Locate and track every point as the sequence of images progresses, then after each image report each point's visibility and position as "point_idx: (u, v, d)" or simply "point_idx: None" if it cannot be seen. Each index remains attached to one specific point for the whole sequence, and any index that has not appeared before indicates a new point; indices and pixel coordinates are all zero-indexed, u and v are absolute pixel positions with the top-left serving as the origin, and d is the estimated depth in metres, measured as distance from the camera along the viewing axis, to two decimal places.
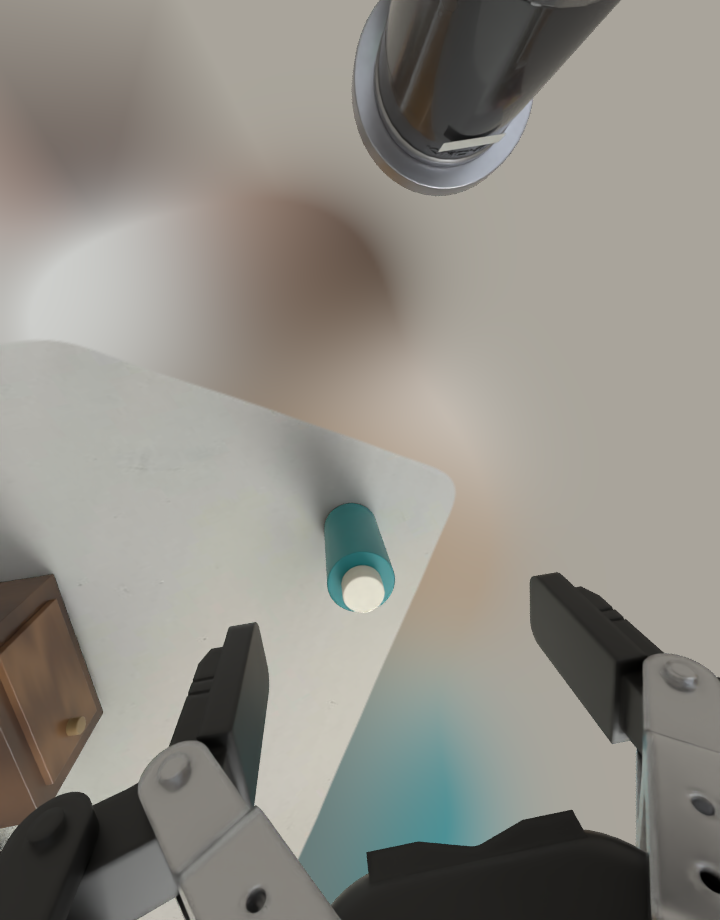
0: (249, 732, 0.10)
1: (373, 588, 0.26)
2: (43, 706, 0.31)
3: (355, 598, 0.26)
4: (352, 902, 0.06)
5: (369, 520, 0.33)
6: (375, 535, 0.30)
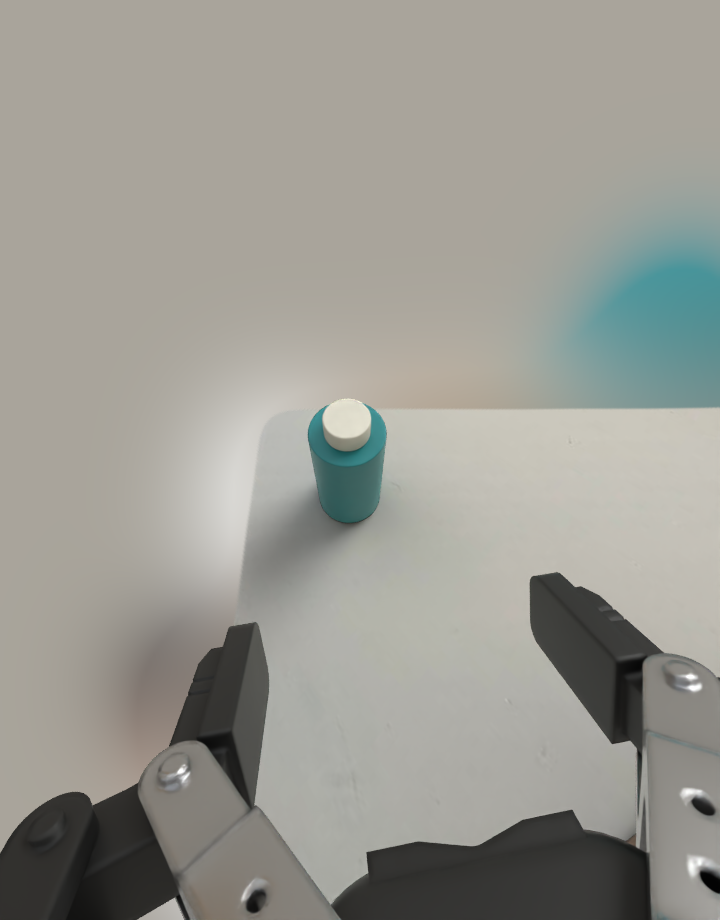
0: (249, 732, 0.10)
1: (335, 411, 0.23)
2: None
3: (353, 424, 0.23)
4: (352, 902, 0.06)
5: None
6: None
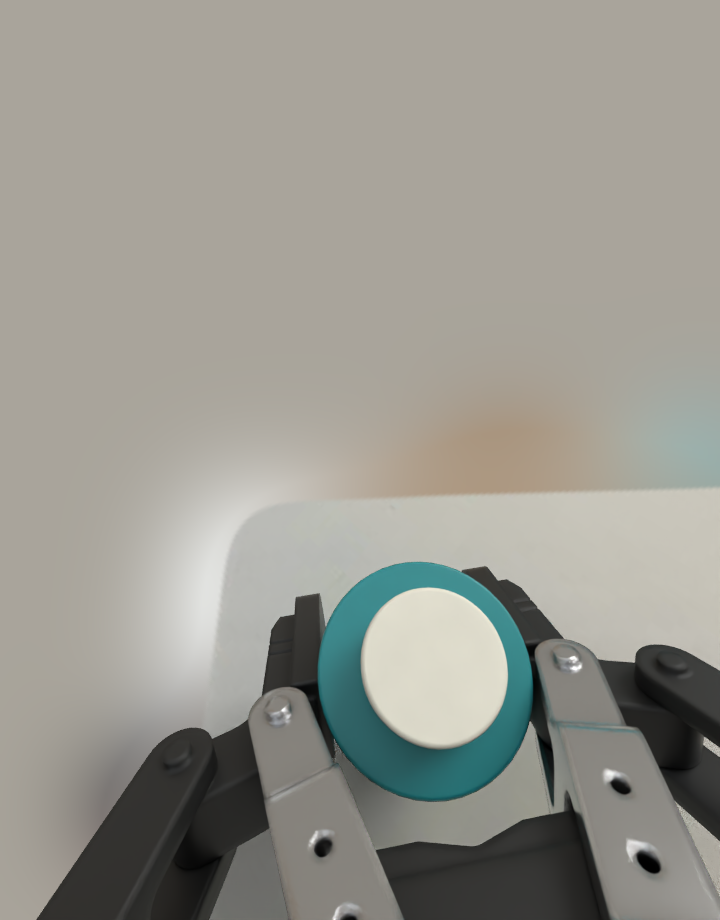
0: None
1: (398, 637, 0.08)
2: None
3: (458, 687, 0.07)
4: None
5: None
6: None
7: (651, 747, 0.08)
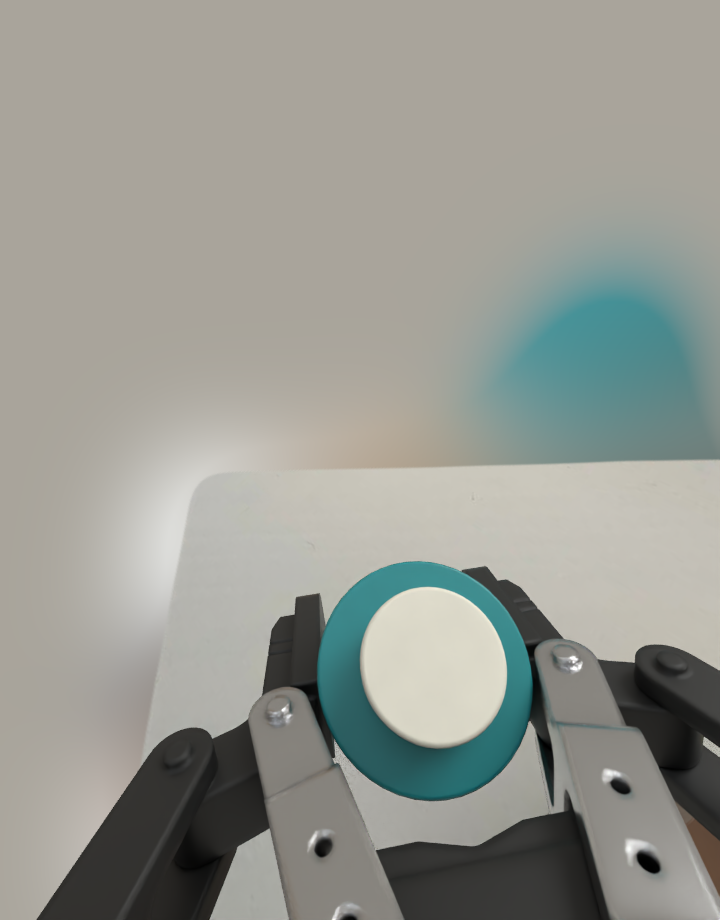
0: None
1: (397, 636, 0.08)
2: None
3: (458, 686, 0.07)
4: None
5: None
6: None
7: (651, 747, 0.08)
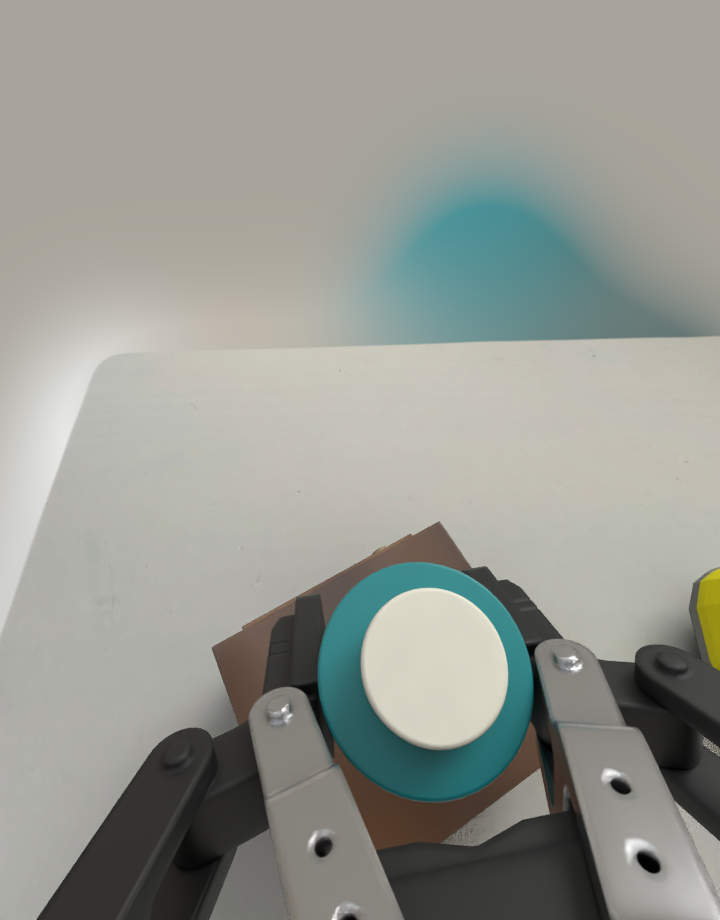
0: None
1: (398, 637, 0.08)
2: None
3: (459, 687, 0.07)
4: None
5: None
6: None
7: (651, 747, 0.08)
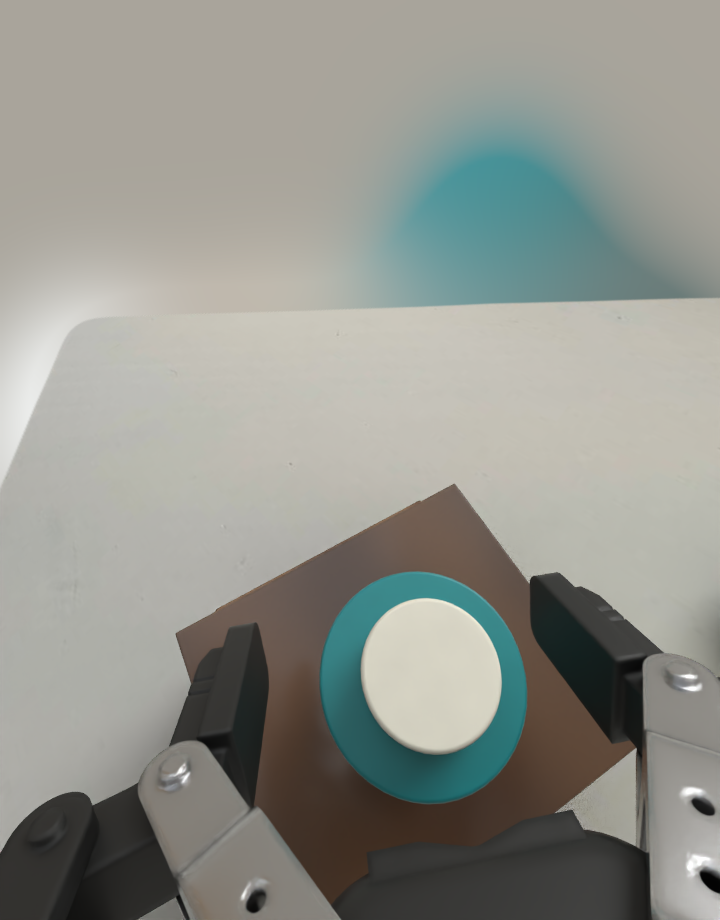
0: (249, 732, 0.10)
1: (397, 646, 0.08)
2: None
3: (454, 694, 0.08)
4: (352, 902, 0.06)
5: None
6: None
7: None
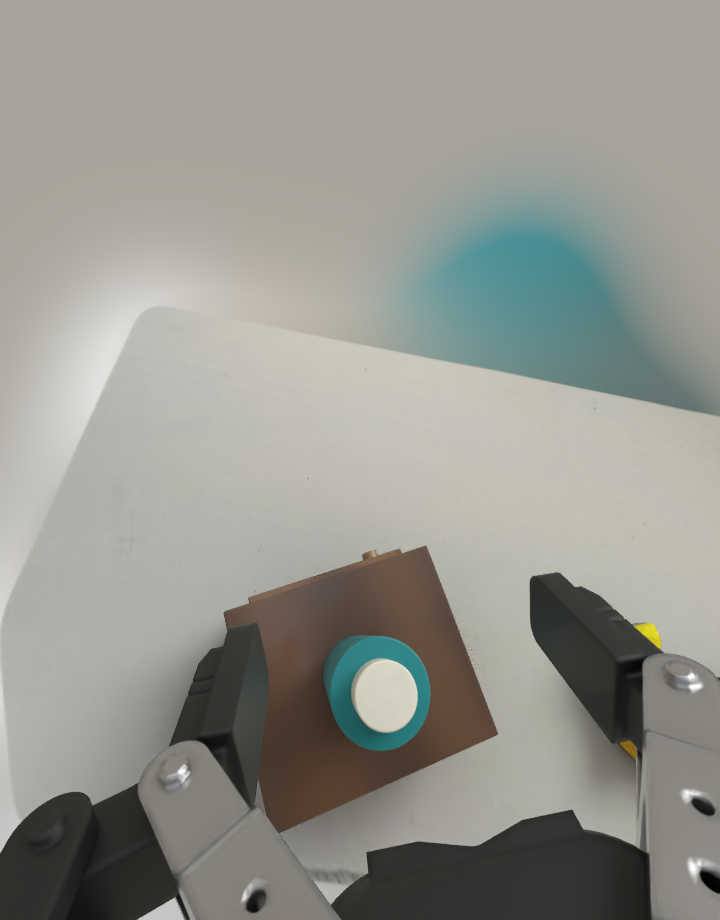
0: (249, 732, 0.10)
1: (373, 681, 0.17)
2: None
3: (394, 708, 0.17)
4: (352, 902, 0.06)
5: (328, 661, 0.24)
6: (331, 662, 0.22)
7: None
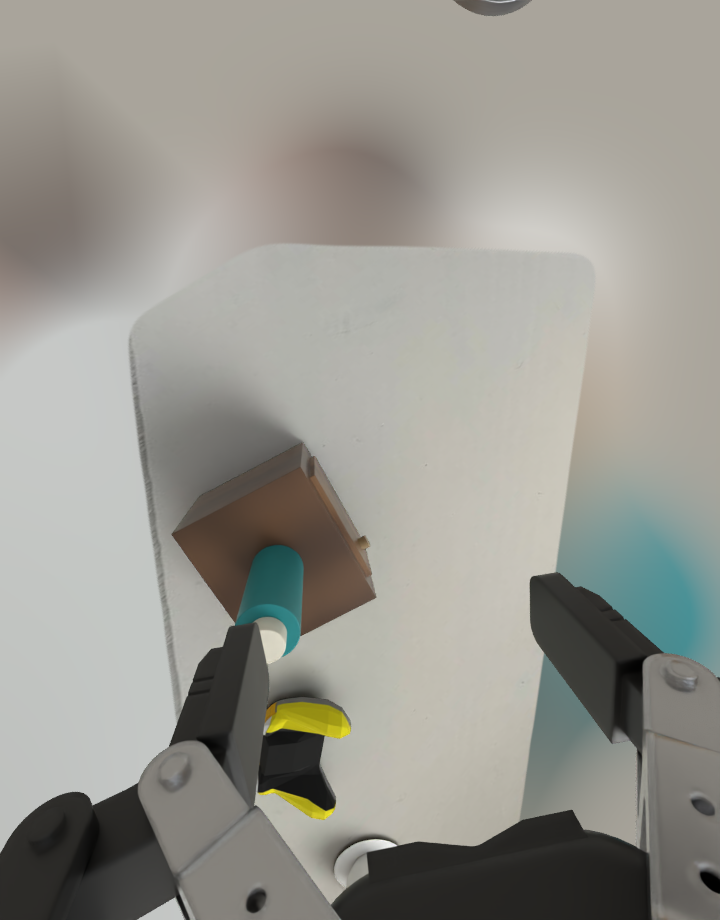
0: (249, 732, 0.10)
1: (271, 638, 0.27)
2: (344, 521, 0.40)
3: None
4: (352, 902, 0.06)
5: (280, 561, 0.34)
6: (279, 578, 0.31)
7: None
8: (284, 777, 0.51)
